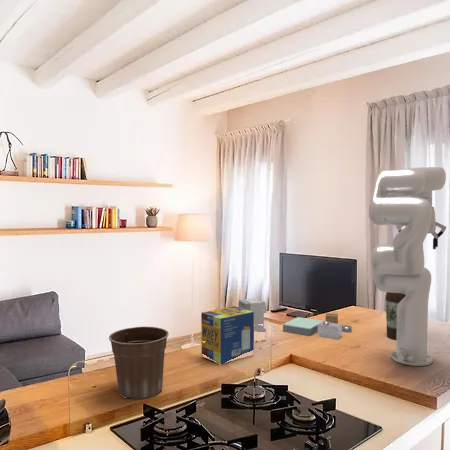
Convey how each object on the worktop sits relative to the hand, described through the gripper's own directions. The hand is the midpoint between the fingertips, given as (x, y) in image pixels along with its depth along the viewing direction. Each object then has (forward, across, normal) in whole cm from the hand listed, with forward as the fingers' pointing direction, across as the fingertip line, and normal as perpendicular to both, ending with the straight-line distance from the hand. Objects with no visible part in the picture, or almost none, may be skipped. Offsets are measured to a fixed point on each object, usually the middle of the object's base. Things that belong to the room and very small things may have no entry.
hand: (420, 248), depth 171 cm
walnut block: (+36, -35, +5) cm, 50 cm away
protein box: (+36, -54, -50) cm, 82 cm away
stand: (+35, -44, -6) cm, 56 cm away
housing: (+36, -31, -10) cm, 48 cm away
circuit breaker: (+36, -58, -31) cm, 75 cm away
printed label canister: (+36, -8, +2) cm, 36 cm away
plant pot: (+36, -61, -88) cm, 113 cm away
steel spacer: (+36, -28, +1) cm, 45 cm away
